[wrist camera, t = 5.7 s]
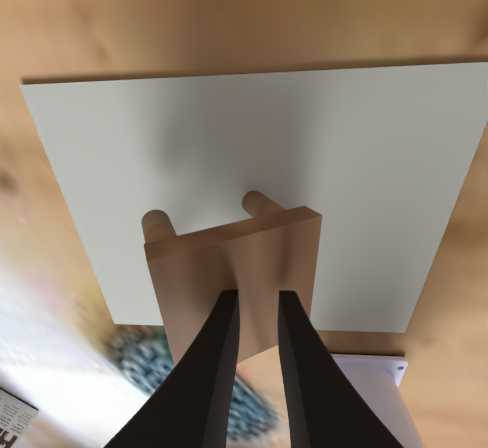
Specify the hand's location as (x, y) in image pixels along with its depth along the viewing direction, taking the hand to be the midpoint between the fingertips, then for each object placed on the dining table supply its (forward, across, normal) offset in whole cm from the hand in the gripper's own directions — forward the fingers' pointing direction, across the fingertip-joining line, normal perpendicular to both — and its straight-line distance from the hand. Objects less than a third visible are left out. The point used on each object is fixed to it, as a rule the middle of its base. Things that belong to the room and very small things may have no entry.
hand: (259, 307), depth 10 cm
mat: (+7, +1, 0) cm, 7 cm away
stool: (+4, -1, 0) cm, 5 cm away
